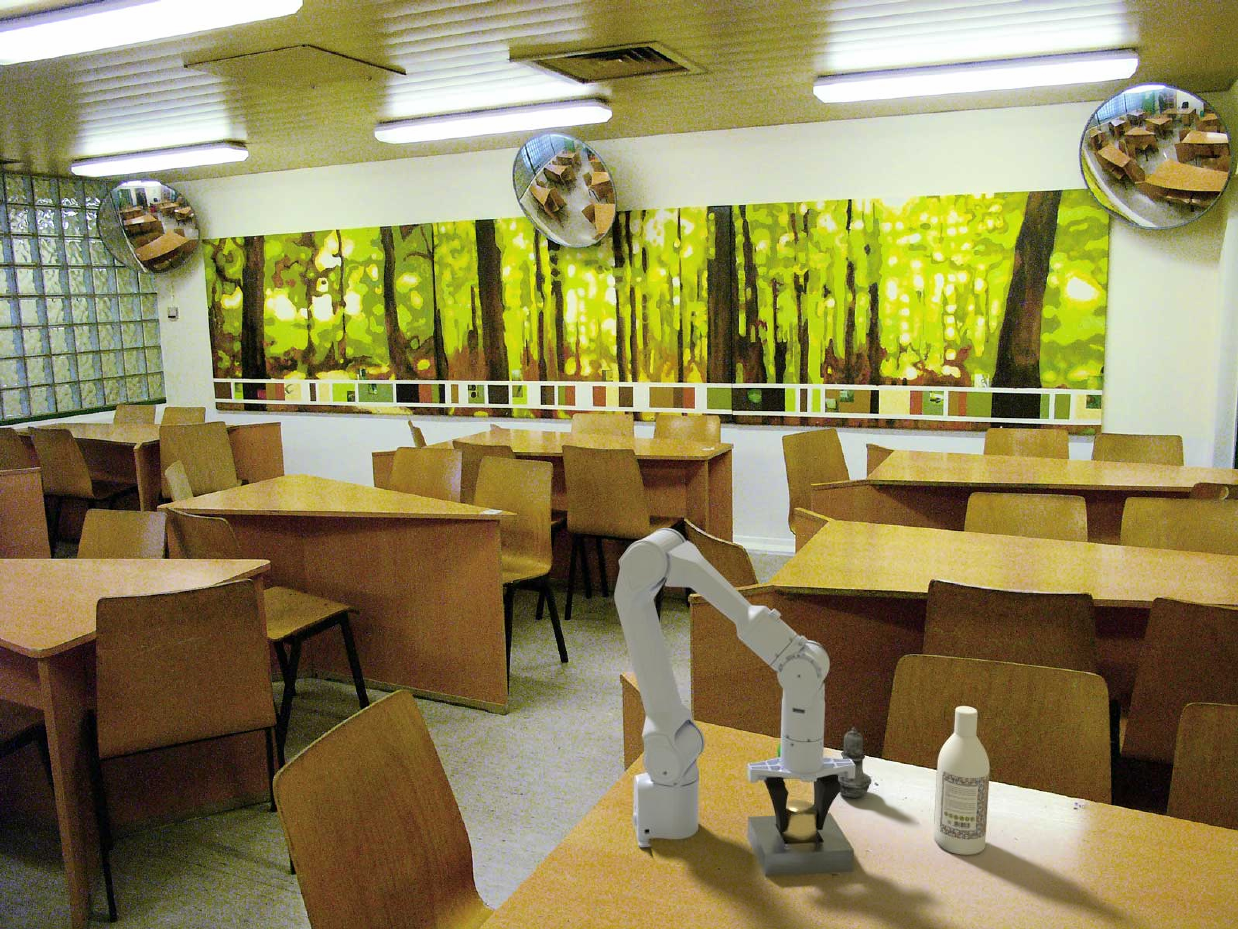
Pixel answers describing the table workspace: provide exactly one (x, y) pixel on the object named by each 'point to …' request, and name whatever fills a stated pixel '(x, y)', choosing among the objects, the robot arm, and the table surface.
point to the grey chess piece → (855, 753)
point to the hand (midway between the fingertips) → (799, 827)
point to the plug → (800, 822)
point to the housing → (799, 849)
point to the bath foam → (962, 788)
